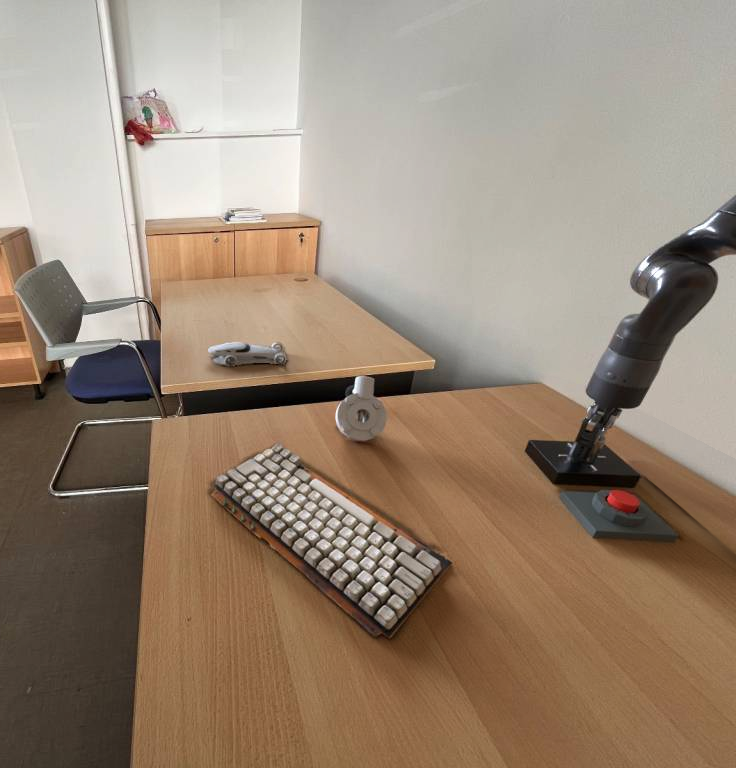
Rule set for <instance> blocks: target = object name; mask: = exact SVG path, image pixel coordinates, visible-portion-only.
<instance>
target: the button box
mask: <svg viewBox="0 0 736 768" xmlns="http://www.w3.org/2000/svg"><path fill="white" fill-rule="evenodd" d="M611 491H613V489H601V490H599V491H597V492H591V491H572V490H571V491H570V490H561V492H560V494H559V496H558V500H560V501H561V503H562V504H563V506H565V507H566V509H567V510H568V511H569V513H570V514H571V515H572V516H573V517H574V518H575V519H576V520H577V522H578V523H579V524H580V526H582V528H583V529H584V530H585V531H586V532H587V533H588V535H589V536H590V537H591V538H592V539H607V540H622V541H639V542H653V543H654V542H655V543H656V542H657V543H670V544H671V543H672V544H673V543H675V542H676V541H677V539H678V538H679V536H680V535H679V533H677V532H676V531H675V530H674V529H673V528H672V527H671V526H670V525H669V524H668V523H666V522H665V521H664V520H663V519H662V518H661V517H660V516H659V515H658V514H657V513H656V512H655V511H654V510H652V508H651V507H649V506H648V504H646V503H645V501H643V500H642V499H641V498H640V497H639V496H637V494H635V493H634V494H633V493H632V494H631V493H630V494H631V495H633V496H635V497H636V498H637V499H638V500H639V502H640V504H639V506H638V507H637V509H636V511H635V512H634V513H625V512H622V511H619V510H617V509H615V508H613V507H612V506H610V505H609V504H608V503H607V498H608V496H609V495H610V493H611Z"/></svg>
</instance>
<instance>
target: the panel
mask: <svg viewBox="0 0 736 768" xmlns="http://www.w3.org/2000/svg"><path fill="white" fill-rule="evenodd" d="M574 441H575V440H574ZM574 441H572V440H568V441H567V440H546V439H545V440H543V439H542V440H541V439H528V441H527V444H526V447H525V449H524V452H525V454H526V455H527V456H528V458H529V459H531V461H532V462H533V463H534V464H535V465H536V466H537V468H538V469H539V470H540V471H541V472H542V473H543V475H544V476H545V477H546V479H548V481H549V482H550V483H551V484H552V485H558V486H559V485H560V486H581V487H602V488H621V489H622V488H623V489H635V488H636V486H637V484H638V483H639V481H640V479H641V478H642V475H641V474H640V473H639V472H638V471H636V469H635V468H633V467H632V466H631V465H630V464H628V463H627V462H626V461H625V460H624V459H623V458H622V457H621V456H620V455H618V454H617V453H616V452H614V450H612V449H611V448H610V447H609V446H608V445H606V443H604V445H603V447H602V449H601V451H600V453H599V455H598V457H597V459H596V460H595V462H593V463H585V462H581V461H578V460H576V459H574V458H573V457H572V456H571V455H570V454H569V451H570V449H571V447H572V445H573V443H574Z"/></svg>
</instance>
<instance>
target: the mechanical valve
mask: <svg viewBox="0 0 736 768" xmlns="http://www.w3.org/2000/svg"><path fill="white" fill-rule="evenodd" d="M374 387H375V378H373V377H372V376H371V377H370V376H364V375H361V376H356V377H355V379H354V384H352V385H349V386H347V388H346V390H345V398H344V399H342V401H341V402H340V403H339V405H338V406H337V408H336V411H335V423H336V426H337V427H338V430H339V431H340V433H341V434H342V435H344V436H345V437H346V438H348V439H350V440H353V441H356V442H364V441H370V440H372V439H375V438H376V437H378V436H379V435H380V434H381V433H382V432H383V431H384V429H385V427H386V425H387V420H388V415H387V410H386V408H385V406H384V403H383V402H382V400H380V399H379V398H377V397H376V396H374V392H375V388H374ZM357 414H358V415H357Z"/></svg>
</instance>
